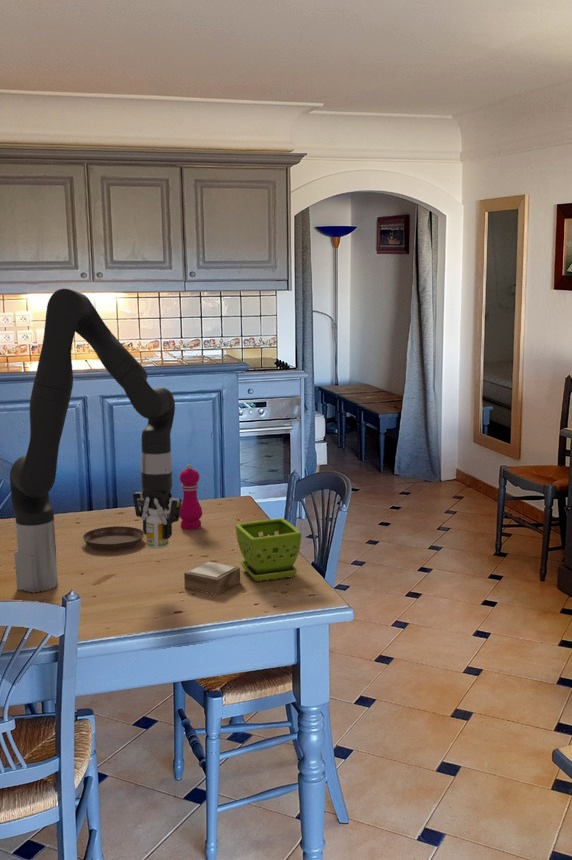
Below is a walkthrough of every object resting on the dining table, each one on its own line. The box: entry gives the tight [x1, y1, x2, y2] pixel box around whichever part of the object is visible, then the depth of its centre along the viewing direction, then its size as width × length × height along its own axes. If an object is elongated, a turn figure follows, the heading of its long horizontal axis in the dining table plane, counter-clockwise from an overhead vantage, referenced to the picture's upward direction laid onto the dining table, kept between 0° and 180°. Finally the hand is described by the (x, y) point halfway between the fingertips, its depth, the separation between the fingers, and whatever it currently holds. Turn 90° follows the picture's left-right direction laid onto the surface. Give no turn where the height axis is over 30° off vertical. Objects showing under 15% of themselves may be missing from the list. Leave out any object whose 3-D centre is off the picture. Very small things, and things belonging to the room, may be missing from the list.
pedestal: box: [183, 560, 241, 595], centre depth 217 cm, size 10×10×4 cm
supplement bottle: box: [145, 508, 169, 550], centre depth 214 cm, size 5×5×10 cm
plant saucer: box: [82, 525, 145, 552], centre depth 252 cm, size 18×18×3 cm
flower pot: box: [235, 518, 302, 582], centre depth 224 cm, size 14×14×13 cm
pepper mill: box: [179, 463, 203, 531], centre depth 266 cm, size 7×7×20 cm
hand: (157, 535), depth 214 cm, fingers closed on supplement bottle, 5 cm apart
